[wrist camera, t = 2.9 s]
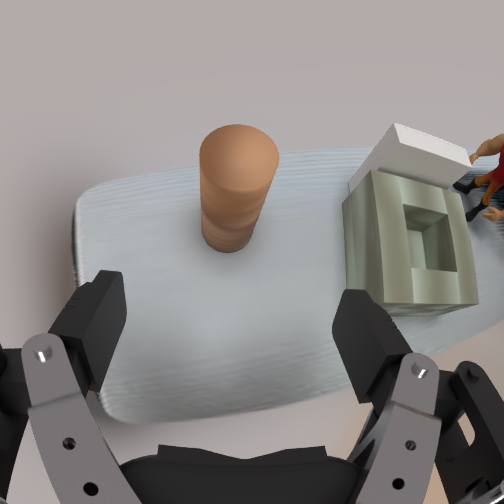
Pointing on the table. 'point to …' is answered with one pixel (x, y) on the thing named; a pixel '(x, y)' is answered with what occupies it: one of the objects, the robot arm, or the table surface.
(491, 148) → the action figure
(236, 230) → the dowel
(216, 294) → the table surface
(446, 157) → the backstop wall
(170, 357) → the table surface
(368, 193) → the socket block
